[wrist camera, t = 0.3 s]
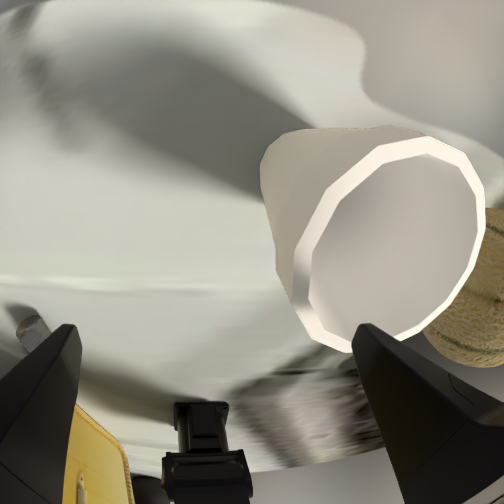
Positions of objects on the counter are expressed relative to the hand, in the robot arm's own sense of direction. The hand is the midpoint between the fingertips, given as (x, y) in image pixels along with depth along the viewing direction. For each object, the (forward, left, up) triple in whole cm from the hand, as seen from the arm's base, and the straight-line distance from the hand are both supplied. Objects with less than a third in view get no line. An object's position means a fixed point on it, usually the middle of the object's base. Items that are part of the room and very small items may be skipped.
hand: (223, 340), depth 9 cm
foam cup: (+2, -7, -15) cm, 16 cm away
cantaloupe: (-3, -25, -15) cm, 29 cm away
